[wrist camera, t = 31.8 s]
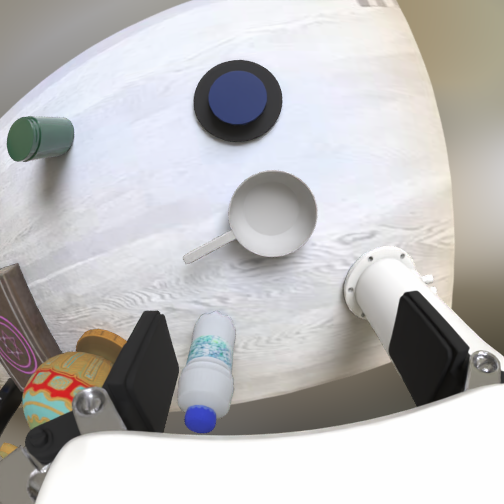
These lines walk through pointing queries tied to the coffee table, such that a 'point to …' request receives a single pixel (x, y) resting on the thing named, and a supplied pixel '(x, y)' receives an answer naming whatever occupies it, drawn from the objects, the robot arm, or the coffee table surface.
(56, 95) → the coffee table surface
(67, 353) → the vase
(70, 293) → the coffee table surface
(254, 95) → the lid
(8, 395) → the wine bottle
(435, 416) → the robot arm
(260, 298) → the coffee table surface
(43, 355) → the book
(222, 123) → the coaster
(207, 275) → the coffee table surface
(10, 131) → the jar
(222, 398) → the bottle
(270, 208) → the saucepan
